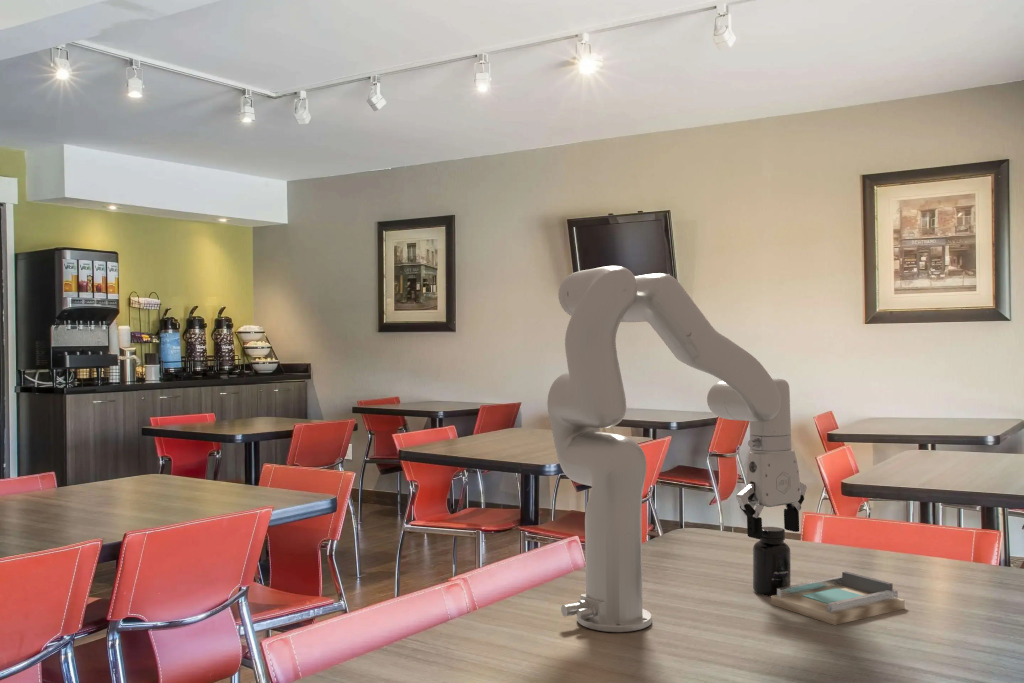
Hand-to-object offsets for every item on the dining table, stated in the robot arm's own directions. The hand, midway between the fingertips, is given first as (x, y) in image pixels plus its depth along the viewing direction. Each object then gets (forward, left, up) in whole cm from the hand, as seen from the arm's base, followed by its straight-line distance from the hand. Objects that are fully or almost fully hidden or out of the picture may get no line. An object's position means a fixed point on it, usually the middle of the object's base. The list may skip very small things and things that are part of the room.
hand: (773, 534), depth 164 cm
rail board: (+2, -12, -11) cm, 17 cm away
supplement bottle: (-1, 0, -11) cm, 11 cm away
